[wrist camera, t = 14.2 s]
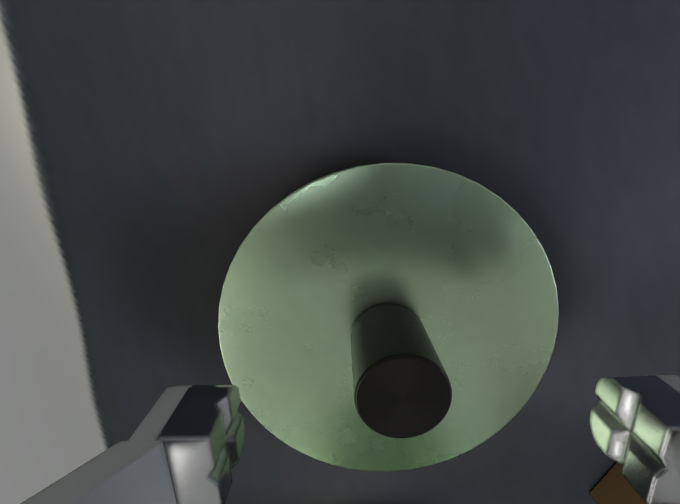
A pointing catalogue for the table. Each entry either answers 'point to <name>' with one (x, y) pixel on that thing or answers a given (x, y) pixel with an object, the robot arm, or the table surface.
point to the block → (615, 489)
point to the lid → (388, 316)
